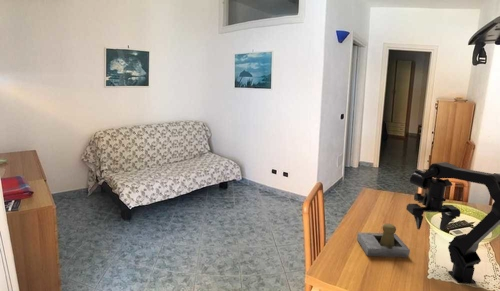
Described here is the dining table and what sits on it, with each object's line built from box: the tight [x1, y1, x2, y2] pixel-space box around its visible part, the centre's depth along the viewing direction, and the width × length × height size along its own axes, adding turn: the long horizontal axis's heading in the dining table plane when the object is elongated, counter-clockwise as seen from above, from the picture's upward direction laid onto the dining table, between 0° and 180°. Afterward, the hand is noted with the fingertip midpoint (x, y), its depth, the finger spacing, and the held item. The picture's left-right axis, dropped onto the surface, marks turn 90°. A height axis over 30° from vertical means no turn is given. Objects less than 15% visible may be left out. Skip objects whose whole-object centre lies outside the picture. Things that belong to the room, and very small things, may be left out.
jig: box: [356, 232, 411, 258], centre depth 134 cm, size 13×17×4 cm
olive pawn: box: [379, 223, 397, 247], centre depth 133 cm, size 6×6×11 cm
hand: (429, 229), depth 127 cm, fingers open, 9 cm apart
